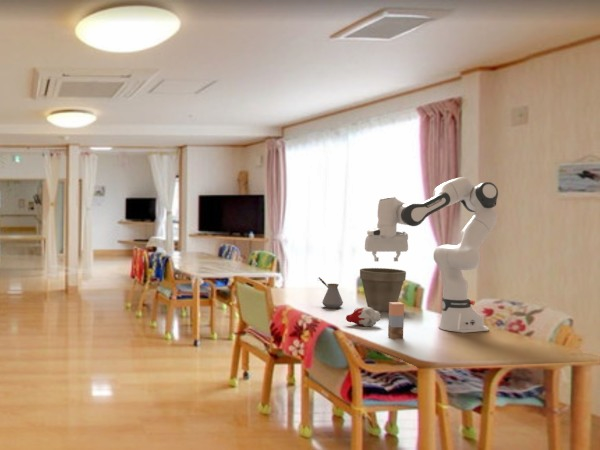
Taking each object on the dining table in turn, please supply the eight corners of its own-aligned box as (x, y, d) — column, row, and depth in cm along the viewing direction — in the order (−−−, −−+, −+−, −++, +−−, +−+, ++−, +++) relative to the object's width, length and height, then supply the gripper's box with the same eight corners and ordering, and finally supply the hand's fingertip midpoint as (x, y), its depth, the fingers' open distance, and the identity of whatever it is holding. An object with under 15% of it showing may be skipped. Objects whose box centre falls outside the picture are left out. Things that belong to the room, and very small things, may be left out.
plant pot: (403, 306, 350) (404, 268, 349) (406, 314, 326) (407, 273, 325) (359, 304, 353) (359, 266, 352) (359, 312, 328) (359, 271, 327)
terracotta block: (399, 313, 272) (400, 302, 271) (403, 315, 267) (404, 304, 266) (388, 313, 271) (389, 302, 270) (392, 315, 266) (392, 304, 266)
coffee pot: (346, 308, 341) (347, 281, 340) (329, 309, 335) (329, 282, 335) (326, 302, 360) (327, 276, 359) (309, 303, 354) (310, 277, 353)
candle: (382, 325, 291) (352, 331, 287) (372, 321, 302) (343, 326, 298) (380, 307, 290) (350, 312, 286) (371, 303, 301) (342, 307, 297)
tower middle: (399, 324, 272) (399, 313, 272) (403, 327, 267) (403, 315, 267) (388, 325, 271) (388, 313, 271) (392, 327, 266) (392, 315, 266)
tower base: (399, 336, 272) (399, 324, 272) (403, 338, 267) (403, 327, 267) (388, 336, 271) (388, 325, 271) (392, 338, 266) (392, 327, 266)
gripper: (405, 231, 292) (404, 260, 293) (363, 231, 288) (363, 260, 289) (410, 232, 286) (409, 261, 287) (368, 231, 282) (367, 262, 283)
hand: (386, 261), depth 288 cm, fingers open, 8 cm apart
